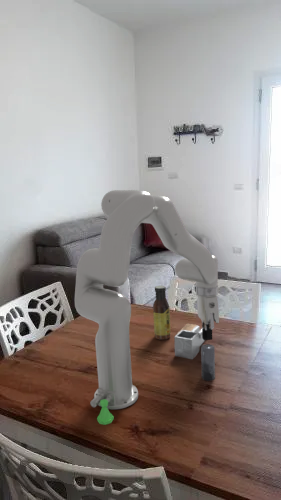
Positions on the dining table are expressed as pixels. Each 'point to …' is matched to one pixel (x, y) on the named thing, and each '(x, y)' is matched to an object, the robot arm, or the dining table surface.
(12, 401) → the dining table surface
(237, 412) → the dining table surface
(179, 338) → the hinge base
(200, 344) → the leaf loose
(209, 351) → the pin
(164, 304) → the sauce bottle
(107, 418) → the game piece
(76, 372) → the dining table surface
